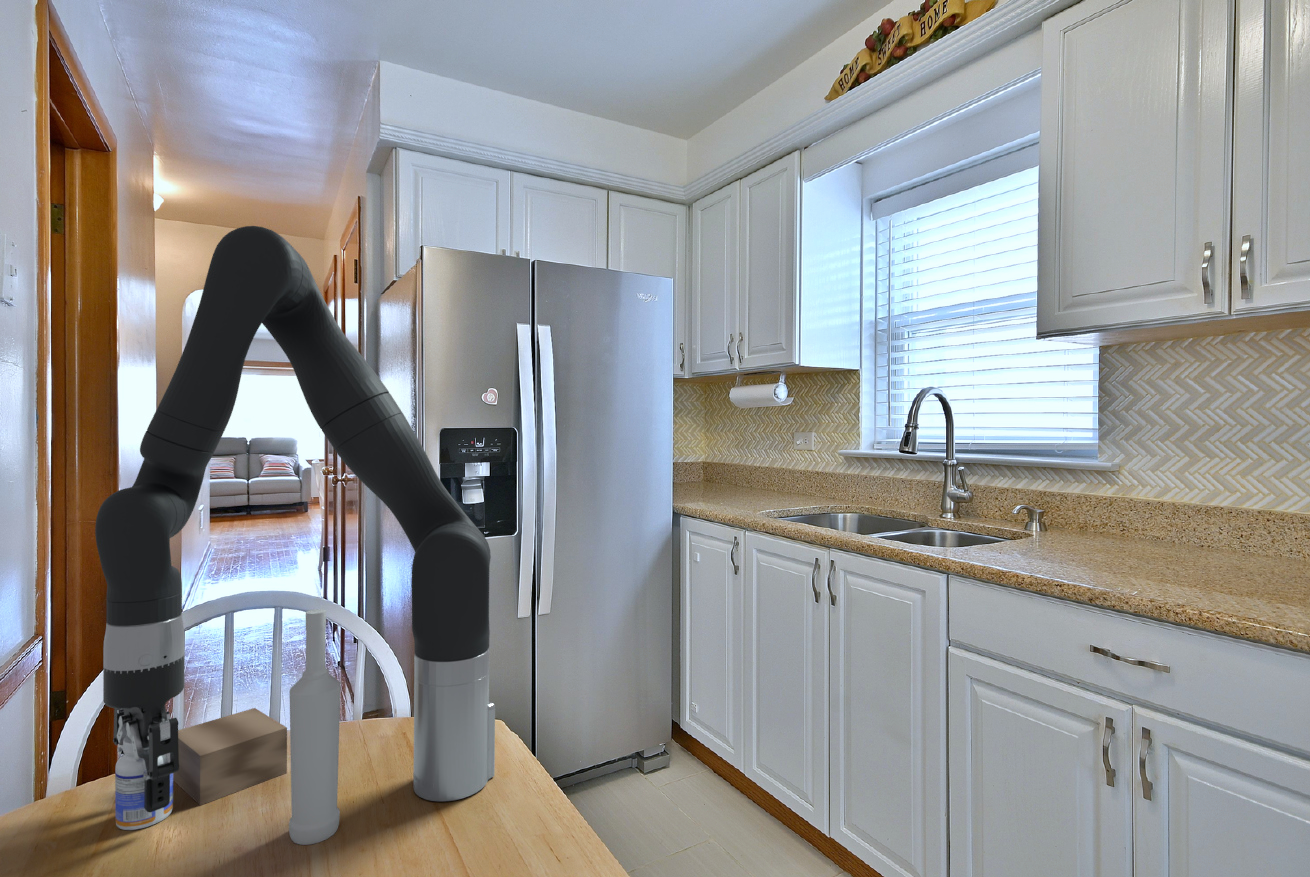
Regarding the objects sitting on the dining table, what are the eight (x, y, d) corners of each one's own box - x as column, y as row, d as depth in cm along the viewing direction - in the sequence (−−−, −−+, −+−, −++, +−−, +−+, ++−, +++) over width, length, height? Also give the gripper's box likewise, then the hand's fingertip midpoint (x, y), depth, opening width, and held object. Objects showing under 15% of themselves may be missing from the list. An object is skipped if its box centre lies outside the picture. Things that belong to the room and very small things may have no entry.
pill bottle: (152, 801, 82) (153, 721, 82) (184, 810, 81) (184, 729, 80) (103, 825, 77) (103, 741, 77) (135, 836, 75) (135, 749, 75)
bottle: (319, 848, 74) (320, 619, 73) (277, 842, 75) (278, 615, 74) (349, 821, 79) (351, 606, 78) (310, 816, 80) (311, 604, 79)
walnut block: (254, 750, 96) (254, 707, 96) (286, 772, 90) (287, 727, 89) (171, 778, 88) (171, 732, 88) (200, 805, 82) (200, 755, 82)
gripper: (205, 661, 77) (204, 803, 77) (162, 637, 86) (161, 764, 86) (124, 680, 71) (123, 833, 72) (86, 652, 80) (86, 788, 80)
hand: (144, 795), depth 79 cm, fingers open, 8 cm apart
